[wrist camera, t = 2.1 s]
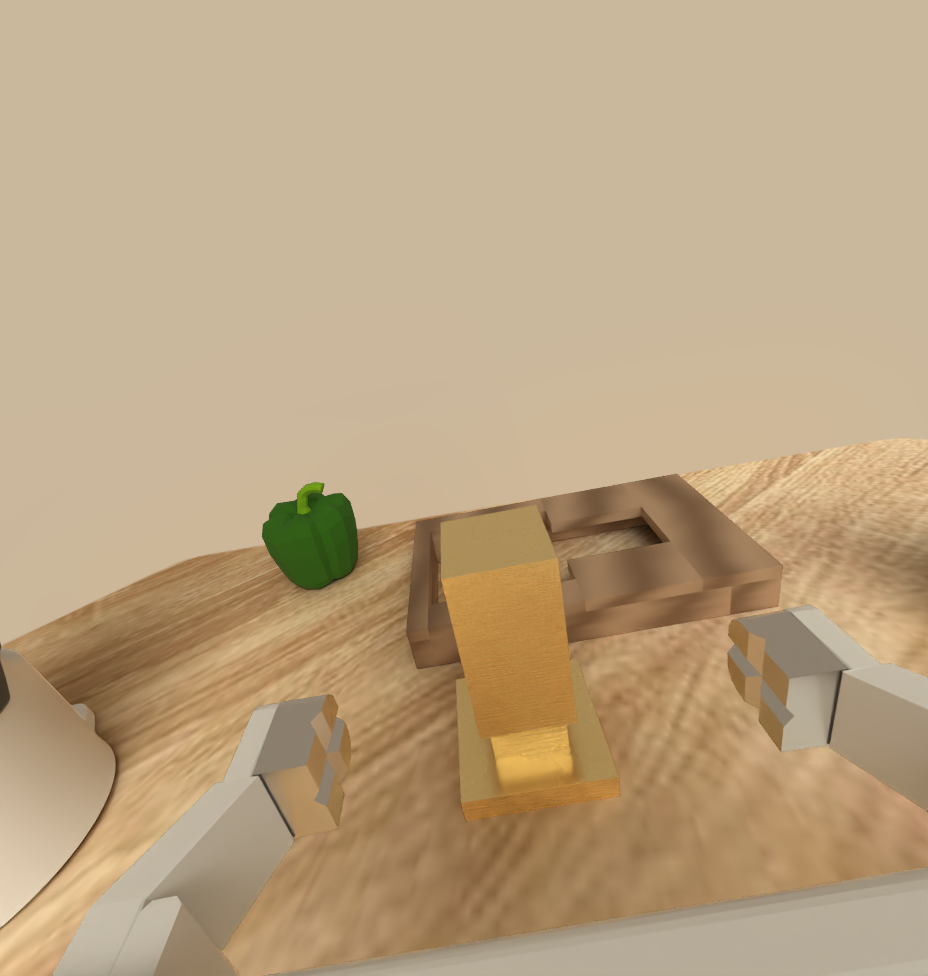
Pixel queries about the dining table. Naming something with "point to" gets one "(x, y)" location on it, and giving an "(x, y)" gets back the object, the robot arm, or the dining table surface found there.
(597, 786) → the brass peg
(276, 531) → the bell pepper
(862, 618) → the dining table surface
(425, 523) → the walnut keyhole plate
